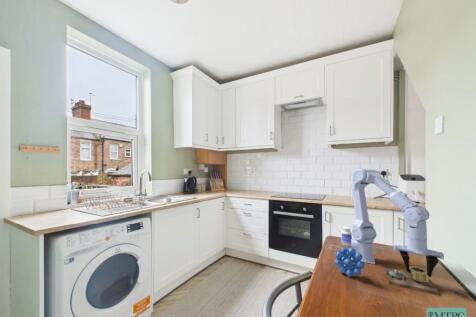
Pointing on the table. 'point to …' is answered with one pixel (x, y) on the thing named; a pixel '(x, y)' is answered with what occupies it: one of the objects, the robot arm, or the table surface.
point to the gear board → (409, 281)
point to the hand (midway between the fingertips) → (418, 273)
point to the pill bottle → (346, 236)
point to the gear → (418, 274)
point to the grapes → (349, 261)
